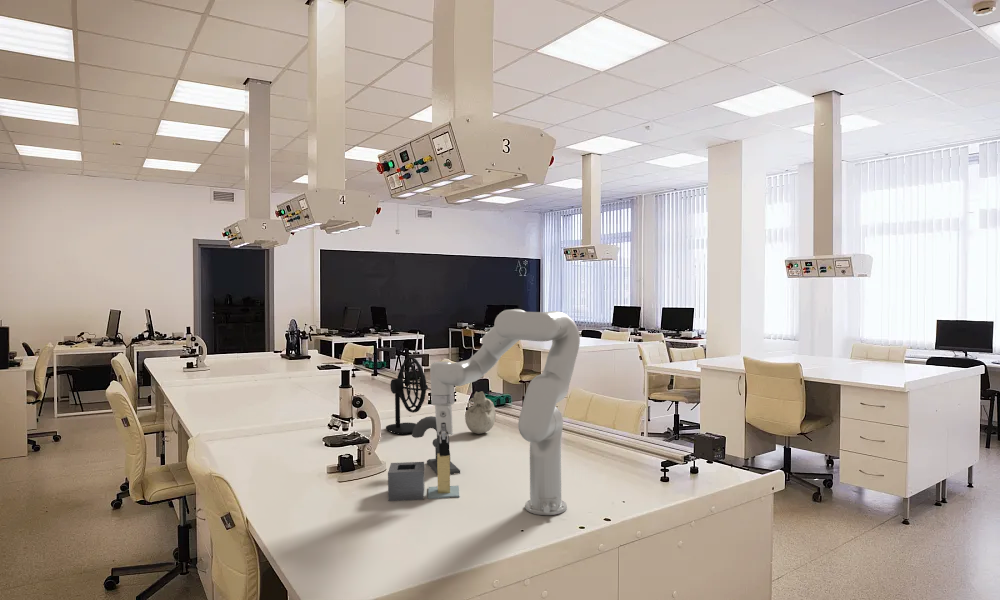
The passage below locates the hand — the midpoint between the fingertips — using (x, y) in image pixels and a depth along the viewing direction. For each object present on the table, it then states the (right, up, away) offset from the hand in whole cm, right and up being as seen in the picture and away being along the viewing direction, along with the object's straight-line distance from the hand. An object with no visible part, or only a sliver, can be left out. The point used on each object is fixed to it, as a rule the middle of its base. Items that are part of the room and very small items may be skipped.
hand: (444, 451), depth 197 cm
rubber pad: (0, -14, 0) cm, 14 cm away
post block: (-12, -14, -1) cm, 19 cm away
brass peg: (0, -13, 0) cm, 13 cm away
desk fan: (-27, -13, +91) cm, 96 cm away
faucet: (-7, -14, +27) cm, 31 cm away
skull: (+9, -13, +84) cm, 85 cm away
